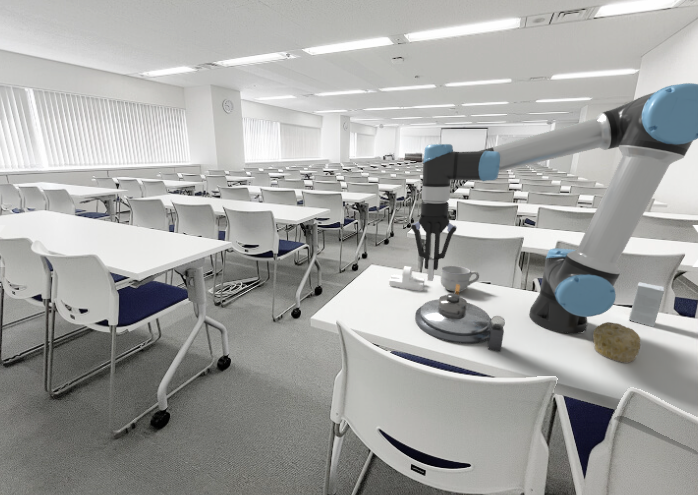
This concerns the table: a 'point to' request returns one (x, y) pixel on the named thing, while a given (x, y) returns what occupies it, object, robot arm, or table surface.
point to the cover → (452, 306)
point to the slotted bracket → (407, 280)
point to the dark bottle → (496, 333)
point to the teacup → (456, 277)
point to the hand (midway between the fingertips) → (430, 279)
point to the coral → (616, 342)
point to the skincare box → (646, 304)
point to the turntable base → (450, 337)
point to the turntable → (467, 326)
